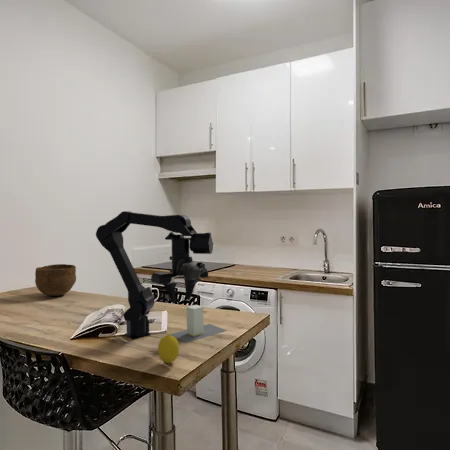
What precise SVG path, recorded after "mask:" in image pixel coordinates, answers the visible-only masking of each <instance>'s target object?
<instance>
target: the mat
mask: <svg viewBox="0 0 450 450" xmlns="http://www.w3.org/2000/svg"><path fill="white" fill-rule="evenodd" d="M224 332H228V329H225V328H221V327H219V326H216V325H214V324H211V323H206V324H204V334H201V335H197V336H192V335H190V334H187V329H185V330H181V331H178V332H174V333H169V334H170V335H171V336H173V337H175V338H176V339H177V340H180V341H182V342H183V343H185V344H186V343H187V344H188V343H191V342H194V341H198V340H200V339H203V338H207V337H211V336H214V335H218V334H221V333H224Z"/></svg>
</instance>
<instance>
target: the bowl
mask: <svg viewBox="0 0 450 450" xmlns="http://www.w3.org/2000/svg"><path fill="white" fill-rule="evenodd" d="M76 269H77V268H76V265H74V264H64V263H63V264H62V263H61V264H59V263H57V264H50V265H44V266H39V267H36V268H35V273H34V275H35V280H34V283H35V285H36V288H37V289H38V291H39V292H40V293H41V294H43V295H45V296H53V297H60V296H63V295H65V294H67V293H69V292H70V291H71V289H72V288H73V287H74V286H75V283H76V281H77V275H76V273H77V270H76Z"/></svg>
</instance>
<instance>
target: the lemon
mask: <svg viewBox="0 0 450 450" xmlns="http://www.w3.org/2000/svg"><path fill="white" fill-rule="evenodd" d="M170 334H171V333H169V334H166V335H164V336H163V337H162V338H160V340H159V343H158V348H157V352H158V356H159V359H160V360H161V361H162V362H164V363H166V364H168V365H170V364H171V363H172V362H174V361H176V359H177V358H178V356H179V353H180V345H179V342H178V339H177V338H175V337H173V336H171V335H170Z"/></svg>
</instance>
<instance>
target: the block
mask: <svg viewBox="0 0 450 450" xmlns="http://www.w3.org/2000/svg"><path fill="white" fill-rule="evenodd" d="M204 325H205V324H204V306H202V305H198V304H193V305H188V306H186V330H187V334H190V335H192V336H197V335H201V334H204Z"/></svg>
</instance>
